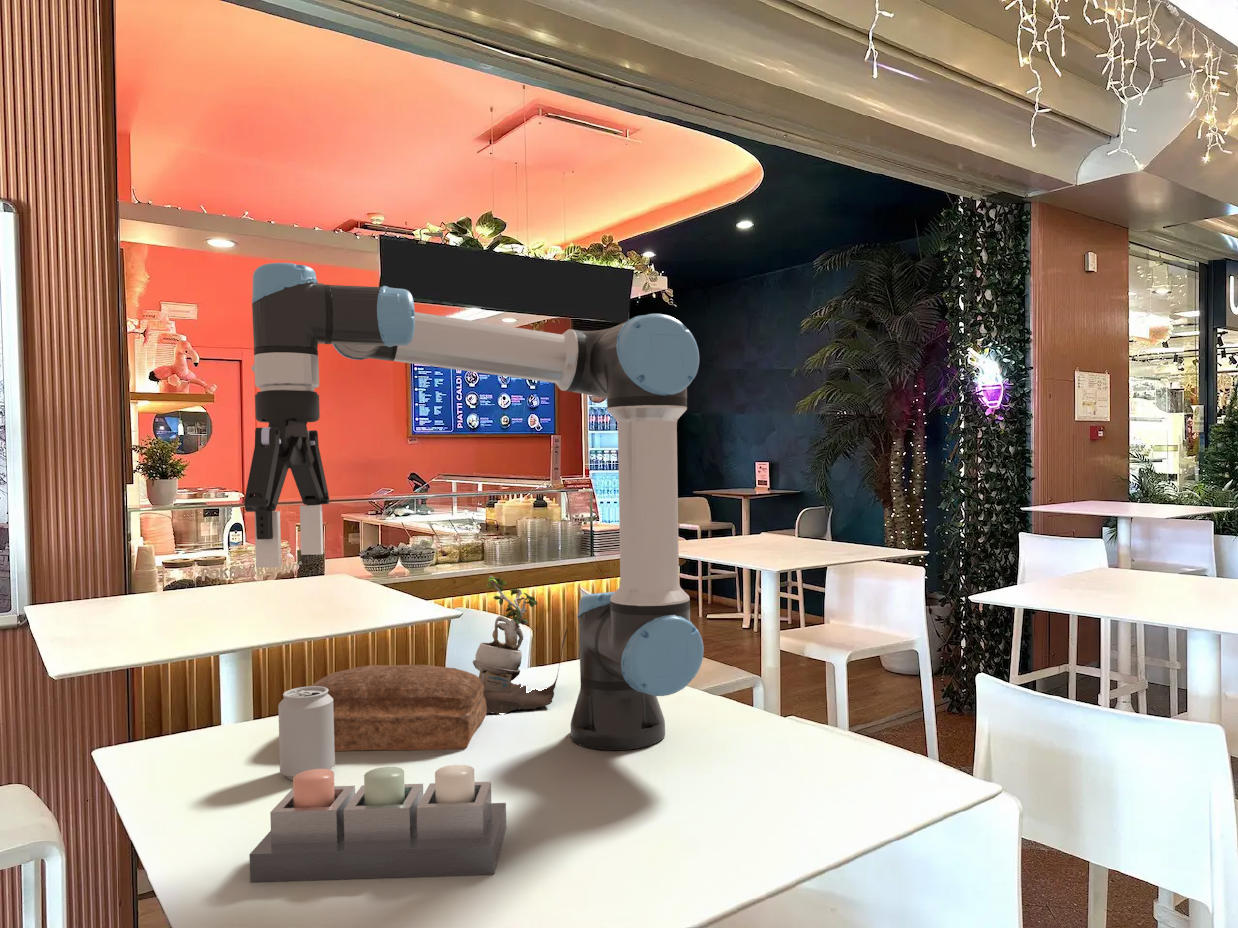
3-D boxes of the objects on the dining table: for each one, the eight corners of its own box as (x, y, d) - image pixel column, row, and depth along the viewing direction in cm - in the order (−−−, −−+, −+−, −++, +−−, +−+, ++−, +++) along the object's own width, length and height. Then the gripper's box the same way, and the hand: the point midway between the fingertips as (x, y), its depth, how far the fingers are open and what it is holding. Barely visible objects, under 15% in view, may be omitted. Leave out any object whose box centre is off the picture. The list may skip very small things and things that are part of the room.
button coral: (339, 806, 102) (338, 768, 102) (328, 822, 98) (326, 781, 98) (301, 807, 102) (300, 769, 102) (288, 823, 98) (287, 783, 97)
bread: (322, 722, 153) (320, 656, 152) (490, 719, 152) (489, 653, 152) (282, 755, 136) (280, 681, 135) (471, 752, 135) (469, 678, 135)
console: (506, 827, 106) (505, 773, 106) (493, 874, 94) (492, 813, 94) (290, 834, 106) (289, 780, 106) (250, 882, 94) (248, 821, 94)
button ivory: (477, 802, 102) (476, 763, 102) (472, 817, 98) (471, 777, 98) (439, 803, 102) (438, 765, 102) (432, 819, 98) (431, 778, 98)
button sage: (408, 804, 102) (407, 766, 102) (400, 820, 98) (399, 779, 98) (371, 805, 102) (370, 767, 102) (360, 821, 98) (359, 781, 98)
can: (317, 783, 122) (315, 698, 122) (269, 781, 124) (267, 696, 124) (344, 765, 130) (342, 684, 129) (298, 762, 131) (296, 682, 131)
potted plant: (457, 700, 173) (488, 575, 177) (550, 722, 172) (579, 597, 177) (439, 711, 153) (475, 571, 157) (543, 736, 153) (577, 595, 157)
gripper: (296, 398, 122) (300, 550, 122) (208, 382, 97) (213, 574, 97) (350, 396, 122) (354, 549, 122) (275, 380, 97) (280, 572, 97)
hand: (291, 560), depth 110 cm, fingers open, 13 cm apart
